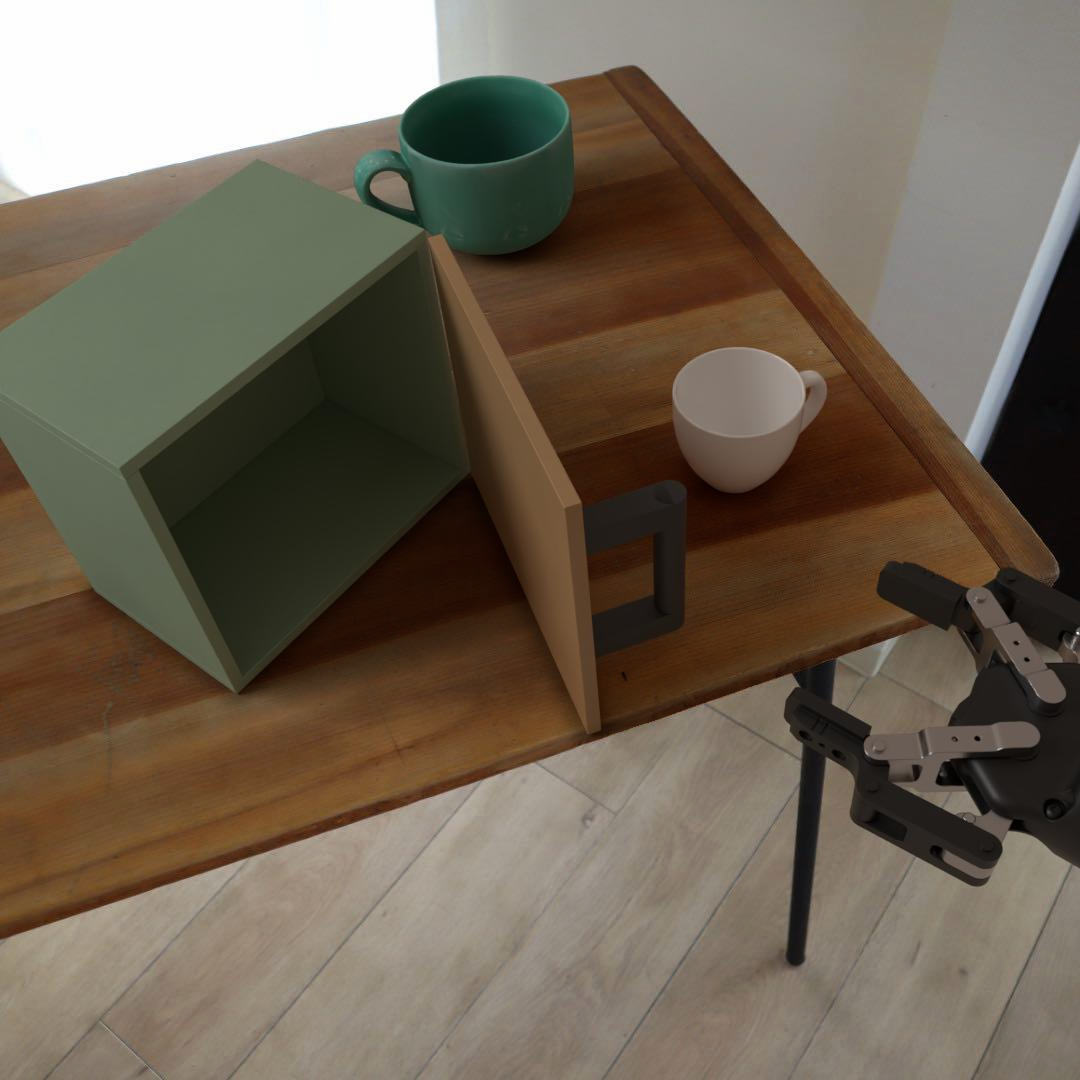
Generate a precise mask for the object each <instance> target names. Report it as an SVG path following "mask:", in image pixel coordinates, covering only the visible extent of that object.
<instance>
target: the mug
mask: <svg viewBox="0 0 1080 1080" xmlns="http://www.w3.org/2000/svg"><path fill="white" fill-rule="evenodd" d="M398 121H399V122H398V125H397V126H398V127H397V135H398V142H399V147H400V152H399V151H396V150H394V149H393V150H392V149H387V148H379V149H373V150H371V151H368V152H367V153H366V154H364V155H362V157H361V158H360V159H359V160H358V162H357V163H356V166H355V168H354V172H353V184H354V189H355V192H356V195H357V196H358V199H360V202H361V203H363V204H366V205H368V206H370V207H373V208H375V209H378V210H380V211H382V212H385V213H387V214H389V215H392V216H394V217H397V218H399V219H401V220H404V221H406V222H409V223H411V224H413V225H416V226H418V227H421V228H423V229H425V232H428V233H429V235H430V236H431V237H432V236H436V235H439V234H443V236H444V238H445V240H446V242H447V244H448V246H449V248H450V249H453V250H457V251H459V252H463V253H467V254H472V255H480V256H497V255H504V254H510V253H514V252H519V251H521V250H525V249H527V248H529V247H532V246H534V245H536V244H537V243H539V242H541V241H543V240H545V238H547V237H548V236H550V235H551V234H552V233H553V232H554V231H555V230H556V229H557V228H558V227H559V226H560V225H561V223H562V222H563V220H564V219H565V217H566V216H567V214H568V211H569V209H570V207H571V204H572V200H573V195H574V190H575V152H574V135H573V125H572V115H571V109H570V106H569V103H568V102H567V101H566V99H565V97H564V96H562V94H561V93H559V92H558V91H557V90H556V89H554V88H553V87H551V86H550V85H548V84H545V83H543V82H540V81H537V80H536V79H532V78H528V77H523V76H517V75H505V74H504V75H503V74H497V75H495V74H494V75H493V74H491V75H478V76H471V77H465V78H461V79H457V80H453V81H449V82H447V83H444V84H441V85H439V86H437V87H434V88H432V89H431V90H428V91H427V92H425V93H423V94H421V95H420V96H418V97H417V98H416V99H415V100H414V101H412V102H411V103H410V104H409V105H408V107H406V109H405V110H404V112H402V114H401V117H400V119H399V120H398ZM383 172H393V173H396V174H399V176H400V177H401V179H403V180H404V181H405V182H406V184H407V189H408V192H409V196H410V201H411V204H412V207H413V210H412V209H409V208H403V207H399V206H396V205H393V204H390V203H388V202H387V201H384V200H383V199H381V198H379V197H377V195H375V194H374V193H373V192H372V189H371V183H372V181H373V179H374V178H375V177H376V176H377V175H378V174H380V173H383Z"/></svg>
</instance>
